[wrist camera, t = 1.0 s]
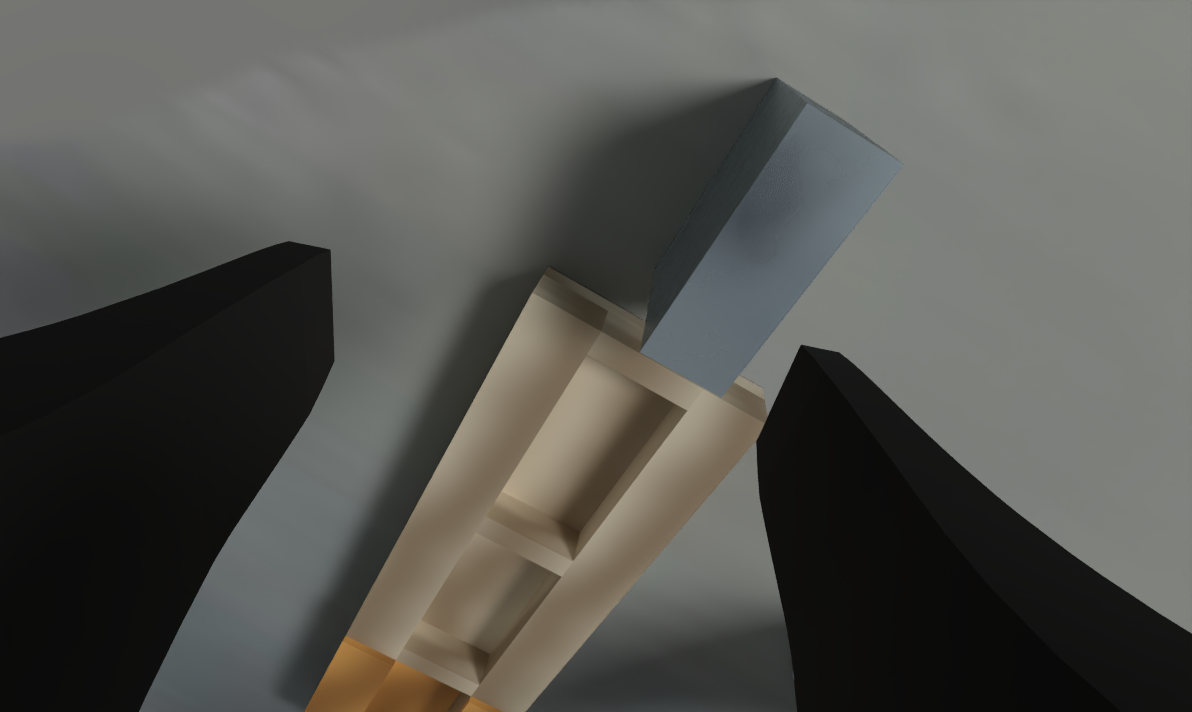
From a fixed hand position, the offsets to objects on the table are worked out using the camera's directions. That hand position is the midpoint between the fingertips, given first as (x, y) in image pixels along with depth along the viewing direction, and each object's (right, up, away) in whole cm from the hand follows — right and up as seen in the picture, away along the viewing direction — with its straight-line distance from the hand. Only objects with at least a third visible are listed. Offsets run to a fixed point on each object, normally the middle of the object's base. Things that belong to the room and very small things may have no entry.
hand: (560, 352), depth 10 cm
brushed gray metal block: (+5, +5, +11) cm, 13 cm away
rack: (-4, -10, +20) cm, 23 cm away
